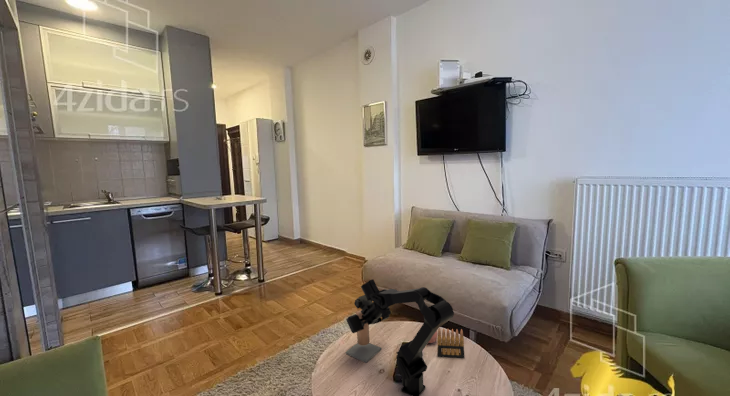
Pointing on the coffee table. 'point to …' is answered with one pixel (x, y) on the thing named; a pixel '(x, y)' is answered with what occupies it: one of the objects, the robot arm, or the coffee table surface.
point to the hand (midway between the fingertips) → (360, 325)
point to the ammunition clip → (445, 344)
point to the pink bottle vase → (433, 338)
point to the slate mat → (363, 351)
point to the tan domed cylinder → (363, 332)
